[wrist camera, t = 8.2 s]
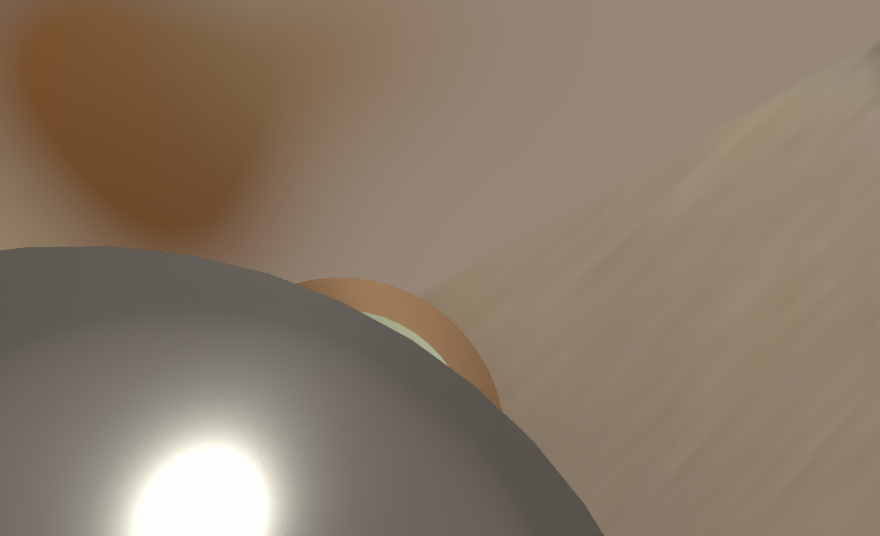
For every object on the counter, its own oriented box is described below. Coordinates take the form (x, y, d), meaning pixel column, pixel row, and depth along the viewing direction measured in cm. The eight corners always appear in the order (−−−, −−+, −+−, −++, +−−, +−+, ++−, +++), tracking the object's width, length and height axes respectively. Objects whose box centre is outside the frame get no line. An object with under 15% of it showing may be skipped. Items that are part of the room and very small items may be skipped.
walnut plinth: (295, 658, 18) (275, 720, 15) (138, 394, 19) (88, 400, 16) (543, 473, 20) (572, 494, 17) (388, 238, 21) (388, 215, 17)
